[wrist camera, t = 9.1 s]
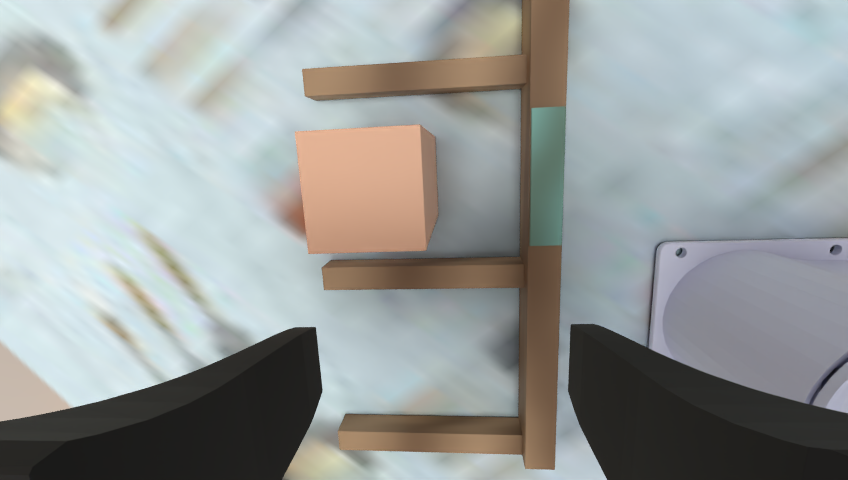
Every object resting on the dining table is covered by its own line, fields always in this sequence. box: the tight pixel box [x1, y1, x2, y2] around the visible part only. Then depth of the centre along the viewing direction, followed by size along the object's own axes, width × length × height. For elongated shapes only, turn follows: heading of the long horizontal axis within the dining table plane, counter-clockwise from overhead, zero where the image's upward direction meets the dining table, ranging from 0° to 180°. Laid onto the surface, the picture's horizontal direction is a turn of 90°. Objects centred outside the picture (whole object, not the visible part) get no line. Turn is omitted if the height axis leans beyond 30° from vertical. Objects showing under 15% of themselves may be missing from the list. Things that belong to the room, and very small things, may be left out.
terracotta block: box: [295, 125, 438, 254], centre depth 17 cm, size 4×4×8 cm
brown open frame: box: [302, 0, 569, 470], centre depth 19 cm, size 12×30×3 cm, turn 2°
